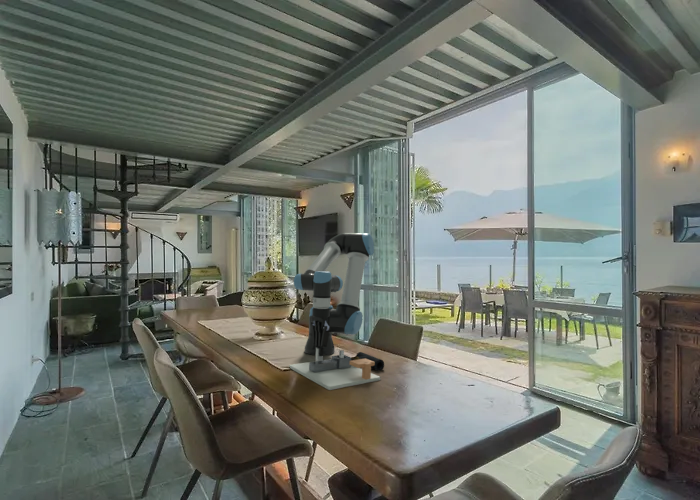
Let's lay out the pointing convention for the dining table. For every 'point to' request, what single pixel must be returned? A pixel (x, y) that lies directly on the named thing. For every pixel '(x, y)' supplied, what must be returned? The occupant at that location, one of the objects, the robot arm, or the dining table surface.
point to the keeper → (363, 366)
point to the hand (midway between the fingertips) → (319, 363)
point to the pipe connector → (378, 362)
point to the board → (334, 376)
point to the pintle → (341, 354)
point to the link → (330, 364)
